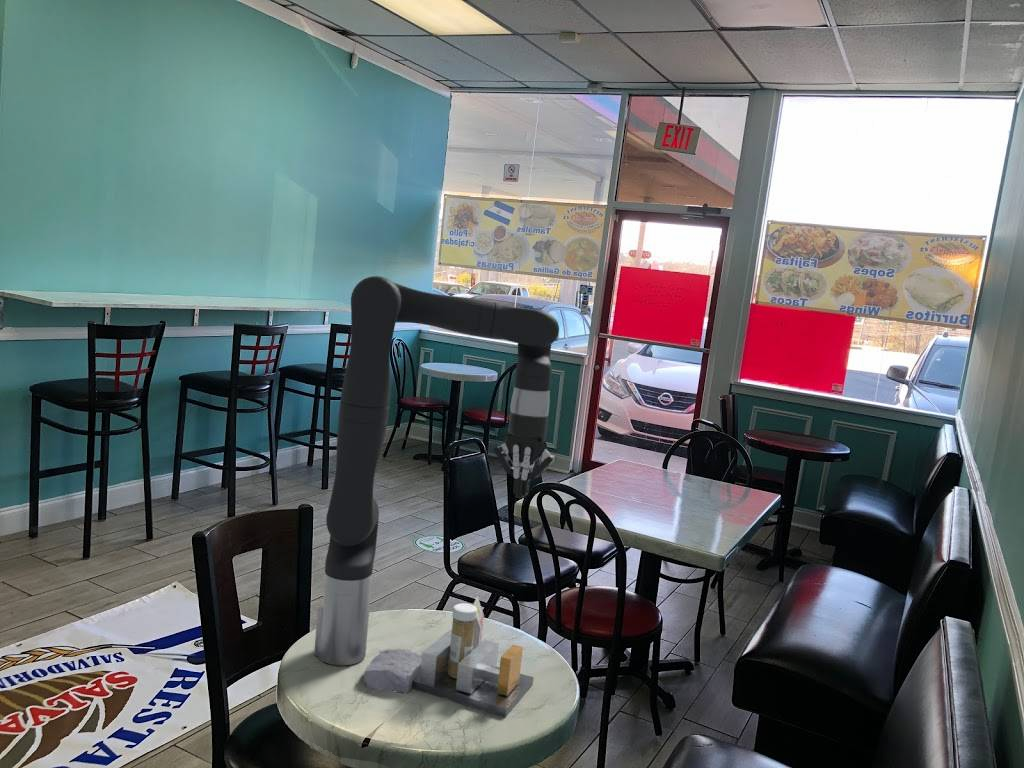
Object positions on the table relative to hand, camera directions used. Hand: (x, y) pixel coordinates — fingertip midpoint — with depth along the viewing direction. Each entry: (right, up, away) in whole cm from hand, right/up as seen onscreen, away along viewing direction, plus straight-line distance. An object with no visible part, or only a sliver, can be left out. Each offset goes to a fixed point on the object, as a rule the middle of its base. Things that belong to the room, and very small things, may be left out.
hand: (520, 496), depth 162 cm
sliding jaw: (-6, -34, -9) cm, 35 cm away
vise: (-9, -35, -7) cm, 37 cm away
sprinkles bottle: (-12, -33, -6) cm, 36 cm away
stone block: (-24, -34, -6) cm, 42 cm away
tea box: (-10, -33, +9) cm, 36 cm away
